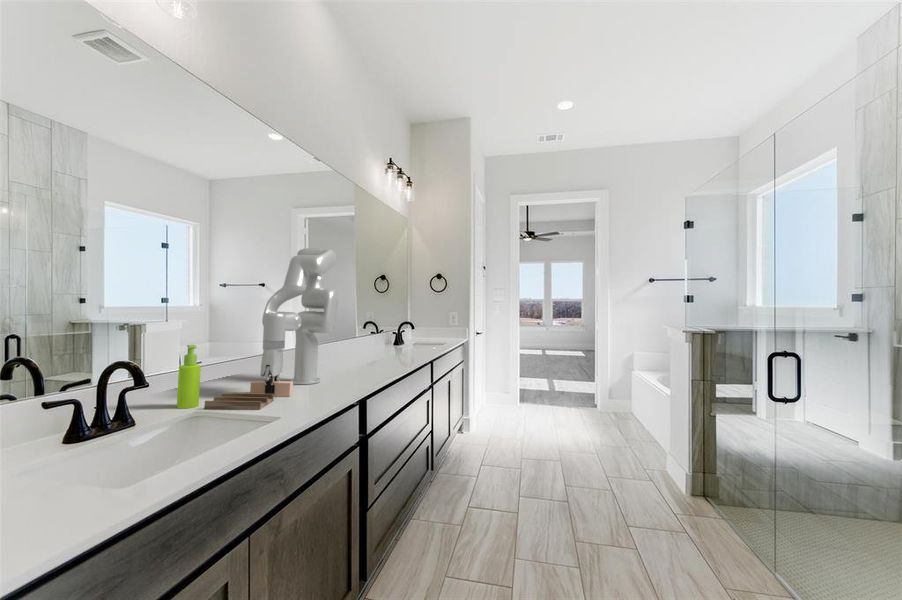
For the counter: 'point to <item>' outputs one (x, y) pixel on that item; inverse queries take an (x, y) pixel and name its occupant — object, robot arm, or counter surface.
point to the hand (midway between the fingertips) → (271, 393)
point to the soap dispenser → (189, 381)
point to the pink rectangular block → (280, 388)
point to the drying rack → (240, 401)
